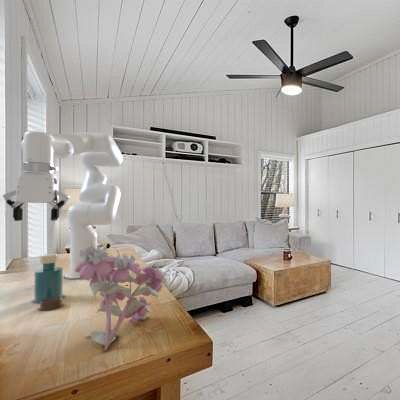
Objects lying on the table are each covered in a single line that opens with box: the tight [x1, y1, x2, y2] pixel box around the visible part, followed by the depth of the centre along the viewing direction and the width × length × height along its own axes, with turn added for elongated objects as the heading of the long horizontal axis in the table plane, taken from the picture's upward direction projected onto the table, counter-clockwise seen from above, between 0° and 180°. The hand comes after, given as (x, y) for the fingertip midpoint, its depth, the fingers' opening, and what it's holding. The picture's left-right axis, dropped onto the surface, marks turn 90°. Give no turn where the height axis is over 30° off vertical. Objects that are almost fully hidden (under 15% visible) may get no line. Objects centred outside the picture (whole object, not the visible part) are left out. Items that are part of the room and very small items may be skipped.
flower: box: [75, 243, 168, 351], centre depth 76 cm, size 20×22×25 cm
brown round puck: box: [39, 297, 63, 311], centre depth 91 cm, size 5×5×2 cm
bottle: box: [33, 252, 64, 304], centre depth 99 cm, size 7×7×15 cm
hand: (36, 220), depth 97 cm, fingers open, 9 cm apart
